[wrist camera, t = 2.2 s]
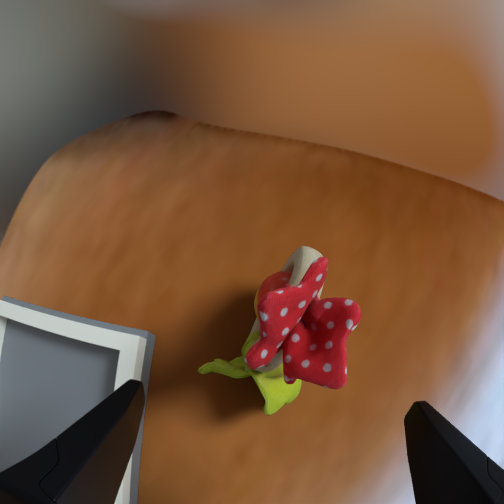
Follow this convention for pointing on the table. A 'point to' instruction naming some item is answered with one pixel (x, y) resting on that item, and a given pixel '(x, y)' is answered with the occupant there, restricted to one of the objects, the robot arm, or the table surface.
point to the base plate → (63, 378)
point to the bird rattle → (294, 333)
